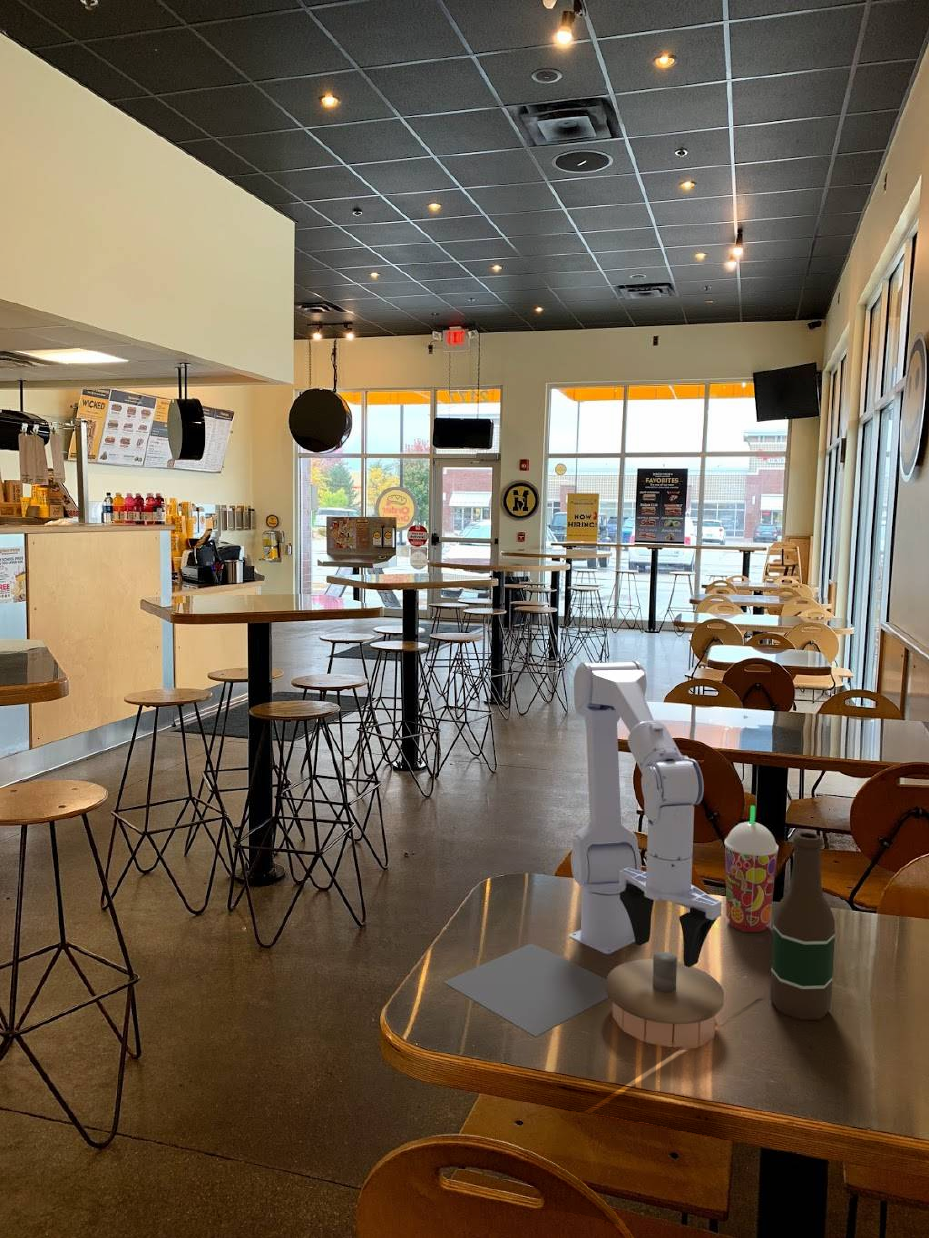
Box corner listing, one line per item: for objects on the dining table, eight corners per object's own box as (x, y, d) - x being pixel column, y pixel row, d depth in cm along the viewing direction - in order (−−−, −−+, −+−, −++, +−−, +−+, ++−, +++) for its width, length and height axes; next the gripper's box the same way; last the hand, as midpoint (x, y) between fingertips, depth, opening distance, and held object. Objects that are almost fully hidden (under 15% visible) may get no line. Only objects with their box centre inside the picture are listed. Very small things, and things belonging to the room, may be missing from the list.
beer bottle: (829, 997, 124) (838, 829, 122) (832, 1026, 117) (842, 848, 114) (769, 987, 127) (777, 822, 124) (769, 1015, 119) (777, 841, 117)
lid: (655, 953, 128) (656, 921, 127) (747, 997, 116) (748, 962, 116) (582, 987, 118) (583, 952, 118) (674, 1038, 107) (675, 1000, 106)
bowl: (653, 985, 127) (654, 958, 127) (734, 1023, 117) (735, 994, 117) (593, 1018, 118) (594, 989, 118) (676, 1062, 109) (677, 1031, 108)
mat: (531, 946, 138) (531, 942, 138) (624, 991, 125) (624, 988, 125) (443, 985, 126) (443, 981, 126) (535, 1040, 113) (535, 1036, 113)
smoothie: (715, 913, 151) (720, 797, 148) (765, 914, 150) (771, 798, 148) (728, 936, 142) (733, 814, 140) (781, 937, 142) (787, 815, 140)
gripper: (605, 844, 118) (603, 942, 120) (700, 877, 107) (696, 984, 109) (638, 832, 123) (635, 927, 124) (732, 862, 112) (728, 966, 113)
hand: (666, 953), depth 117 cm, fingers open, 7 cm apart
